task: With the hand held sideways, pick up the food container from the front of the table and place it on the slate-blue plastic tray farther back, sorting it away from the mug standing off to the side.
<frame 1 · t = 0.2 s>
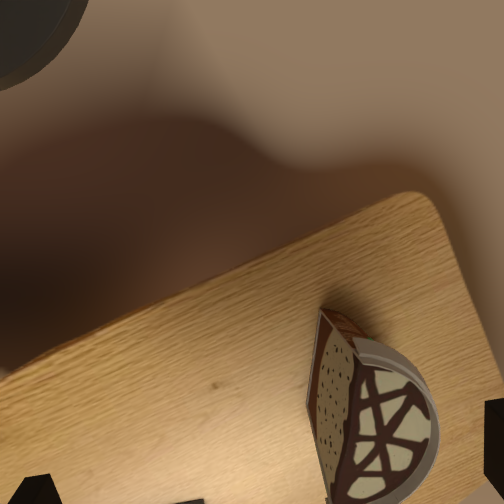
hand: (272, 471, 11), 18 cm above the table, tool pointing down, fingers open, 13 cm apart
food container: (346, 358, 31), on the table
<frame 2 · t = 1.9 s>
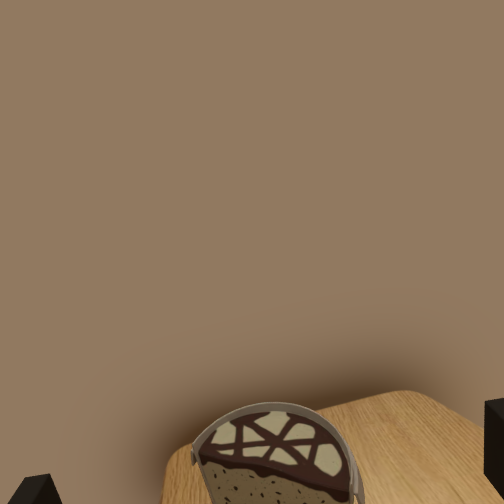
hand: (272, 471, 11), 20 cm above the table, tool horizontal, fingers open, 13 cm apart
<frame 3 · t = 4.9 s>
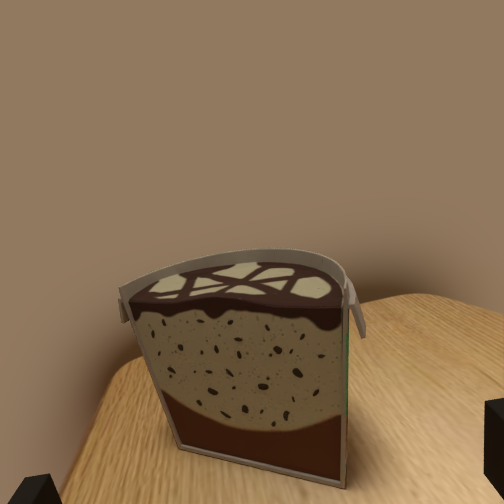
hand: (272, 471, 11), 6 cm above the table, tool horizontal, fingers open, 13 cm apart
food container: (273, 425, 21), on the table
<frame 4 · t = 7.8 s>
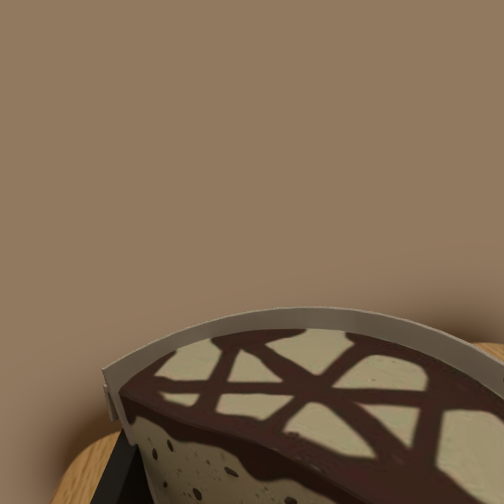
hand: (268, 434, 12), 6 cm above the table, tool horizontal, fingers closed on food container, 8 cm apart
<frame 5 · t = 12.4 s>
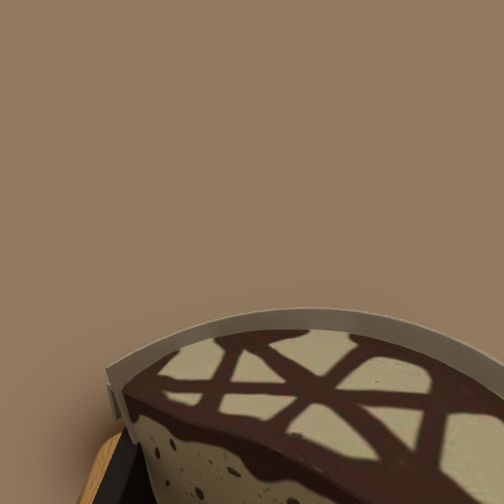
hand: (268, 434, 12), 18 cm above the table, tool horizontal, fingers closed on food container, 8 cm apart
when the fingers open (7 cm above the table, at t = 17.6 s): food container stays where it is, resting on tray.
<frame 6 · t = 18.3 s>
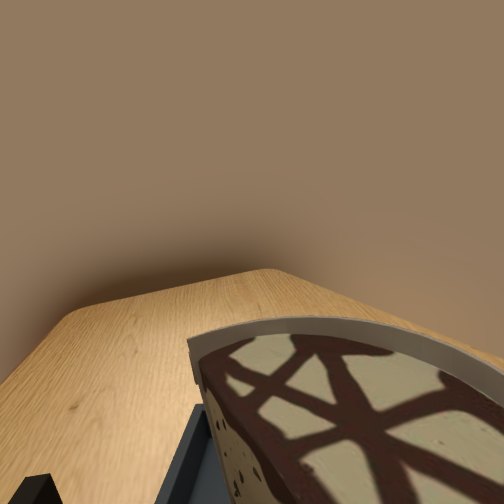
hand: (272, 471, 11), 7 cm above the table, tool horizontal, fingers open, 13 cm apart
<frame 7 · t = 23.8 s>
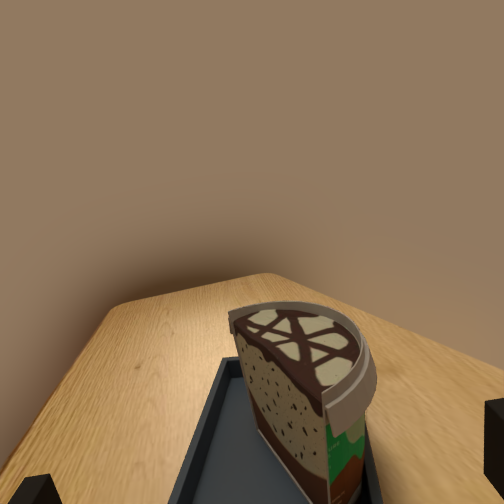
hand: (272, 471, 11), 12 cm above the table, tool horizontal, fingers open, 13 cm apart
food container: (325, 454, 24), point 1 cm above the table, touching tray
tray: (282, 451, 26), on the table
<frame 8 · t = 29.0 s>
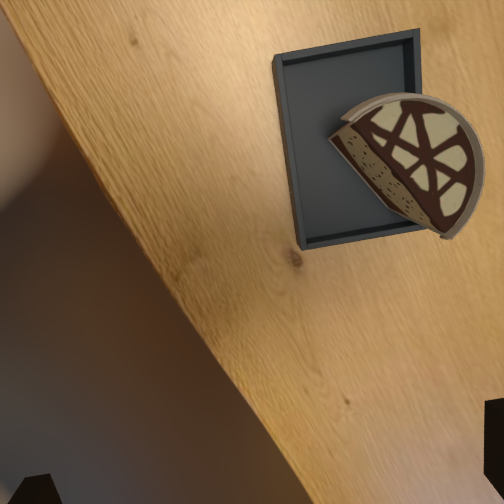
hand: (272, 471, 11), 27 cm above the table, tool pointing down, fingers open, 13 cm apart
food container: (382, 152, 34), point 1 cm above the table, touching tray
tray: (347, 148, 34), on the table
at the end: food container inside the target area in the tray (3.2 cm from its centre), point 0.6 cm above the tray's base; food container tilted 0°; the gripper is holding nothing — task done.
